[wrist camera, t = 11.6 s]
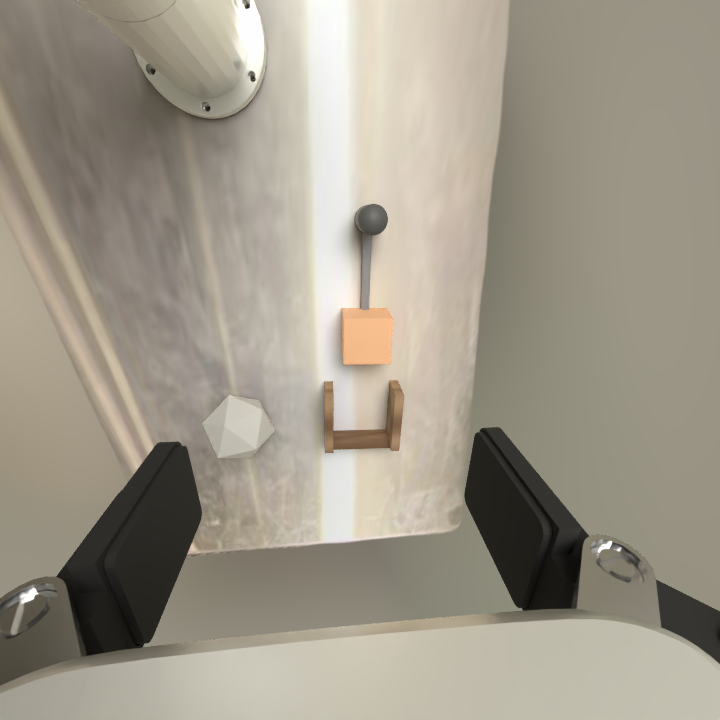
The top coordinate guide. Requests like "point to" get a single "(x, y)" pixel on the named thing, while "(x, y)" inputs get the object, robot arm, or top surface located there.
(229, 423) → the die
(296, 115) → the top surface
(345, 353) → the block
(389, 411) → the shelf lane
